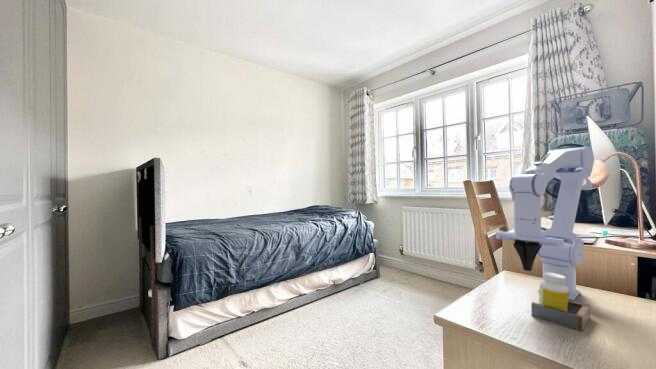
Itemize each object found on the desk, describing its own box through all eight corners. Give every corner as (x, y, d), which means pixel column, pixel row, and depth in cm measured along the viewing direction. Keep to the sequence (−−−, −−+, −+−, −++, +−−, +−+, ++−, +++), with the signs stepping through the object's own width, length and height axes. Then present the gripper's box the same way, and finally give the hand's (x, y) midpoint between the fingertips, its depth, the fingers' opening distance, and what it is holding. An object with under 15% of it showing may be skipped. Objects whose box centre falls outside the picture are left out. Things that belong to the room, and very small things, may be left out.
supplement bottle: (573, 322, 62) (575, 280, 62) (546, 318, 63) (548, 277, 63) (558, 311, 67) (560, 272, 67) (534, 308, 69) (535, 270, 69)
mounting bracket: (542, 304, 71) (542, 293, 71) (589, 318, 64) (589, 305, 64) (531, 315, 65) (531, 303, 65) (581, 331, 58) (581, 317, 58)
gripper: (491, 217, 74) (491, 266, 74) (558, 223, 63) (559, 280, 63) (501, 215, 79) (501, 261, 79) (565, 220, 67) (566, 274, 67)
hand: (527, 269), depth 71 cm, fingers closed
